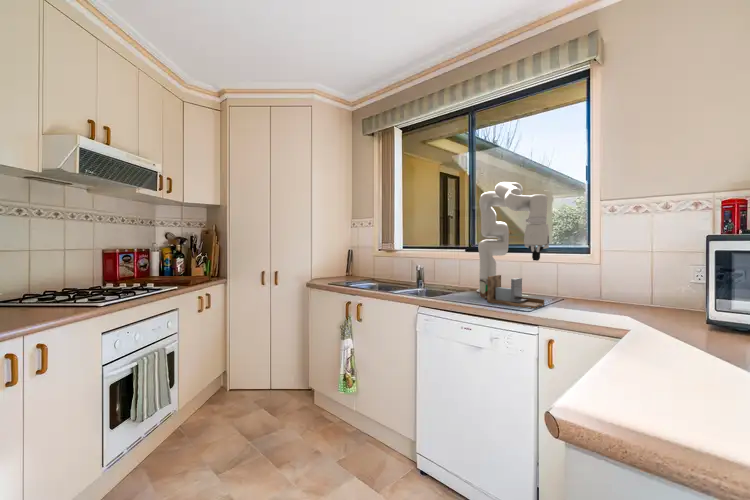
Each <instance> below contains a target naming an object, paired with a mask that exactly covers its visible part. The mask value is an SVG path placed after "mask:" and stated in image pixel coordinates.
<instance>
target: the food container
mask: <svg viewBox="0 0 750 500" xmlns="http://www.w3.org/2000/svg"><path fill="white" fill-rule="evenodd" d="M479 278H480V277H479ZM479 282H480V292H479V297H480V298H481V299H483V300H487V294H488V279H482V278H480V281H479Z"/></svg>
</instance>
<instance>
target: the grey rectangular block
mask: <svg viewBox="0 0 750 500" xmlns="http://www.w3.org/2000/svg"><path fill="white" fill-rule="evenodd" d="M496 300H503V301H510V302H511V287H502V286H501V287H497V288H496Z"/></svg>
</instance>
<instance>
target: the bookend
mask: <svg viewBox="0 0 750 500" xmlns="http://www.w3.org/2000/svg"><path fill="white" fill-rule="evenodd" d="M510 282H511V283H510V288H511V302H516V303H522V302H526V301H528V299H522V297H523V277H515V278H511V280H510Z"/></svg>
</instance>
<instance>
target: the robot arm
mask: <svg viewBox="0 0 750 500" xmlns="http://www.w3.org/2000/svg"><path fill="white" fill-rule="evenodd" d="M523 190H524V189H523V186H522V185H521V184H520V183H518V182H514V181H513V182H511V181H502V182H499V183H497V184H496V185H495V188H494V191H487V192H483V193H482V194H481V195H480V197H479V203H478V204H479V209H480V214H481V216H480V219H481V223H480V231H481V236H482V237H484V238H497V239H482V240H481V241H479V243H478V245H477V247H478V248H477V249H478V256H479V257H478V258H479V281H480V278H482V279H488V276H495V275H497V262H496V259H495V258H494V256H499V257H501V256H505V255H507V254H508V251H509V243H510V242H509V235H510V234H509V232H510V231H509V230H510V229H509V225H508V224H507V223H506V222H504V221H497V213H496V211H495V209H494V208H493V207H498V208H499V207H503V208H508V209H510V210H512V211H516V212H528V218H526V219H525V222H526V223H527V224H526V226H525V229H524V230H525V231H524V237H523V244H524V248H527V249H529V250H530V251H531V252H532V253H531V254H532V255H531V257H532V258H531V259H532V261H540V259H541V252H542V251H543V250H544V249H550V248H549V247H550V245H549V244H550V230H549V224H548V223H547V214H548V196H547V195H546V194H542V193H541V194H540V193H539V194H532V195H523ZM478 284H479V285H478V287H479V288H478V289H476V292H477V293H480V282H479V283H478Z"/></svg>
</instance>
